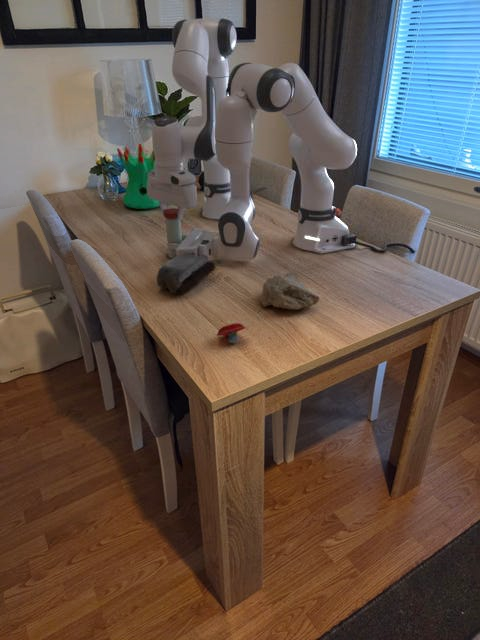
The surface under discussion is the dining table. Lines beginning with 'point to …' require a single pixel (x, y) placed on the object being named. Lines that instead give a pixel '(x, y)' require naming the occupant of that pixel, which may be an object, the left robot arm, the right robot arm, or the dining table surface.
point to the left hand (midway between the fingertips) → (172, 216)
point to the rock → (184, 272)
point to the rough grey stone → (287, 293)
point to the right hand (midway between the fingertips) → (172, 241)
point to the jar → (173, 234)
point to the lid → (170, 213)
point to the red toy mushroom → (231, 331)
